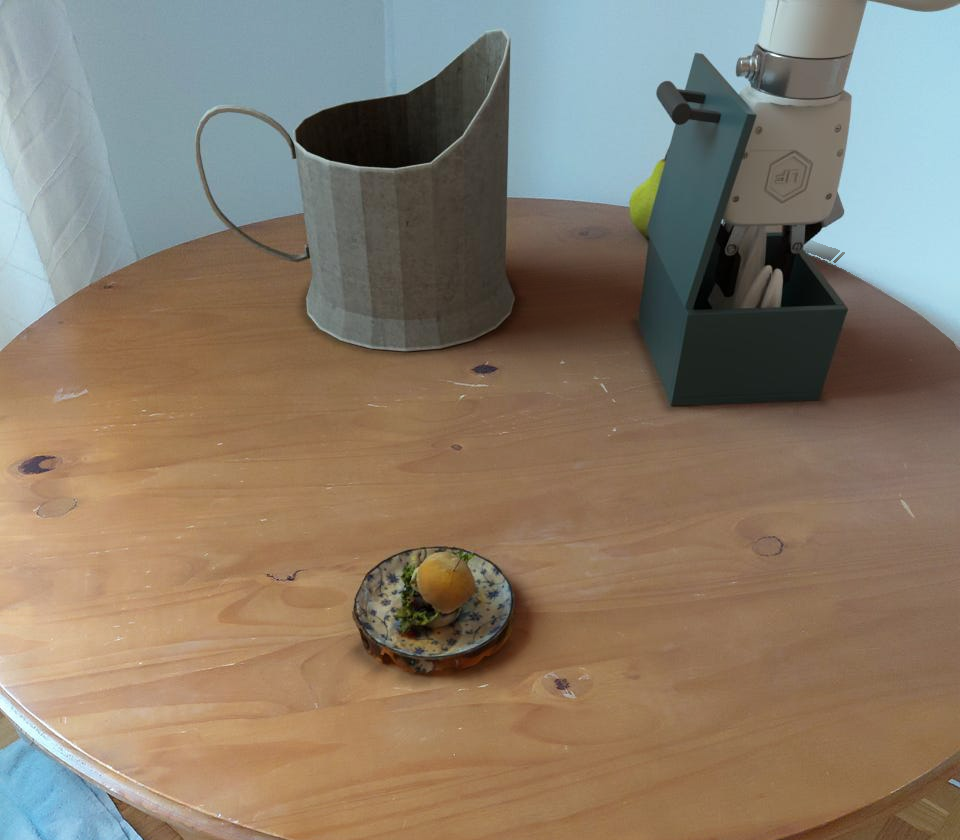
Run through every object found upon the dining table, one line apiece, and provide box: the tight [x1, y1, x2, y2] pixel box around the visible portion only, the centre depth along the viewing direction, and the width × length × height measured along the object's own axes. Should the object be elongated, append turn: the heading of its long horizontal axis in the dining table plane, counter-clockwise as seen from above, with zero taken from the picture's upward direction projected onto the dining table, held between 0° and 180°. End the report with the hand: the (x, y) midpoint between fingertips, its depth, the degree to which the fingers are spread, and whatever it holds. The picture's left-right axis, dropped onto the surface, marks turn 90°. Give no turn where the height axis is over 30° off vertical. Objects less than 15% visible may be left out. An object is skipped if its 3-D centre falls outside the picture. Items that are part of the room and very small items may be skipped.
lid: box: [647, 52, 757, 309], centre depth 78 cm, size 16×17×5 cm
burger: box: [351, 545, 516, 675], centre depth 63 cm, size 12×12×8 cm
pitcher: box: [194, 28, 515, 352], centre depth 90 cm, size 23×32×25 cm
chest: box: [637, 232, 849, 407], centre depth 88 cm, size 15×17×9 cm
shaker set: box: [708, 226, 783, 309], centre depth 86 cm, size 12×4×11 cm, turn 3°
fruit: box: [628, 147, 669, 239], centre depth 107 cm, size 7×7×12 cm
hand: (749, 288), depth 86 cm, fingers closed on shaker set, 4 cm apart
